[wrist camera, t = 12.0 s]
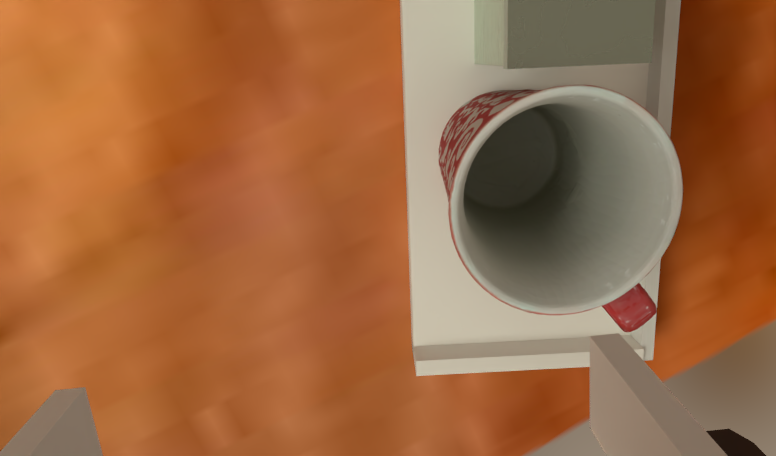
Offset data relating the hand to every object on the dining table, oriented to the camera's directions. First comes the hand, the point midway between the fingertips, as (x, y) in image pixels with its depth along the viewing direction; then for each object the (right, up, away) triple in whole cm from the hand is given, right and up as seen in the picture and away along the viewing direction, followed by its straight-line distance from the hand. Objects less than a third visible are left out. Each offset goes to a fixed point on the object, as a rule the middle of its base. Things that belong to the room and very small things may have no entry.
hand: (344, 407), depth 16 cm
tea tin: (+9, +16, +19) cm, 26 cm away
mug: (+9, +8, +21) cm, 24 cm away
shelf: (+9, +9, +23) cm, 26 cm away
